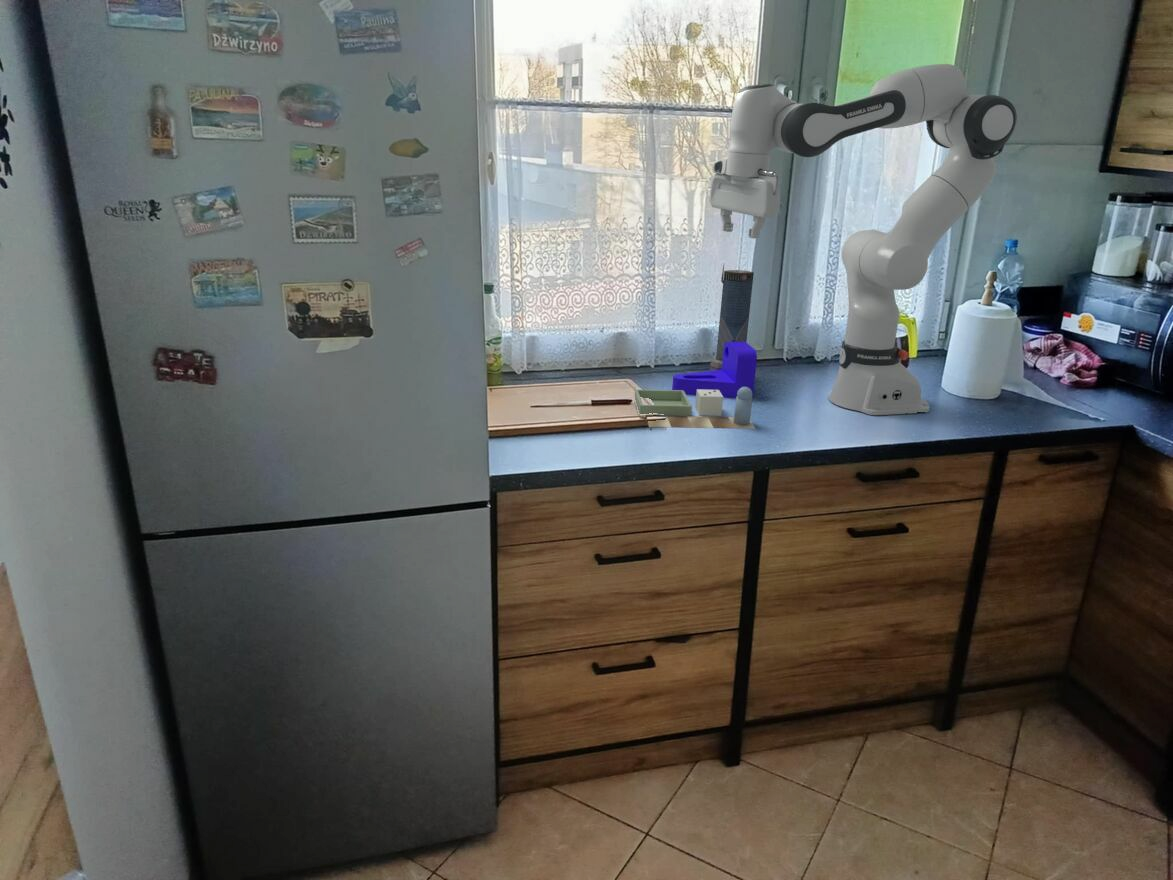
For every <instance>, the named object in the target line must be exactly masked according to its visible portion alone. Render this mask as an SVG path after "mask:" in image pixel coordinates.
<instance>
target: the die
mask: <svg viewBox="0 0 1173 880" xmlns="http://www.w3.org/2000/svg"><path fill="white" fill-rule="evenodd" d="M694 403H695V405H694V408H695V411H696V413H697V415H698V416H714V417H722V416H723V415H722V413H723V405H724V404H723V403H724V397H723V396H722V394H721V392H720V391H719V390H704V389H697V391H696V395H695V402H694Z"/></svg>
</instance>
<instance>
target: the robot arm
mask: <svg viewBox="0 0 1173 880" xmlns="http://www.w3.org/2000/svg"><path fill="white" fill-rule="evenodd" d="M731 112H732V113H731V119H730V126H729V127H730V129H729V131H730V143H729V146H728V149H727V156H725V157H723V158H721V159H718V160H716V161H714V162H713V163H712V164H711V165H712V166H711V172H712V173H714V174H713V175H712V177H711V182H710V188H709V189H710V191H709V203H710V206H711V207H712V208H715V209H718V210H719V209H720V213H719V214H720V217H721V220H722V227H721V228H722V231H723V232H727V233H732V232H733V231H734V223H733V222H732V219H731V215H733V212H734V213H738V214H743V215H748V216H753V219H752V221H753V222H754V223H753V225H752V227H751V228H748V229H749V230H748V238H750V239H759V238H760V234H761V229H762V228H763V226H764V224H765V223H766V219H776V218H777V216H778V215H779V213H780V210H781V209H780V207H781V206H780V205H781V204H780V203H781V186H780V178H779V176H778V175H777V174H776V172H775V171H774V170H770V164H771V154H772V150H773V149H776V150H778V151H781V152H784V153H787V154H788V153H789V154H795V155H797V156H799V157H803V158H812V157H813V158H814V157H817V156H819V155H821V154H823V153H825V152H826V151H827V150H829V149H830V148H831V147H832V146H833V145H835V144H836V143H837V142H839V141H841V140H843V139H846V138H848V137H851V136H854V135H858V134H861V133H864V132H868V131H871V130H875V129H886V130H887V129H896V128H905V127H908V126H909V127H910V126H913V125H917V124H921V123H924V122H925V123H926V130H927V134H928V137H929V138H930V139H931V141H932V142H933V143H935V144H936V145H938V146H940V147H942V148H944V149H949V151H948V154H947V156H946V158H945V160H944V161H943V162H942V164H941V165H940V166H939V167H938V168H937V169H936V170H935V171H934V172H932V174H931V175H929V177H928V178H926V180H925V181H924V182H922V184H921V185H920V186H919V187H918V188H917V189H916V190H914V192H913V193H912V194H911V195H910V196H909V197H908V198H907V199H906V200H905V201H904V202H903V204H902V208H901V209H902V212H901V214H900V217H898V219H897V221H896V223H895V224H894V225H893V227H892V228H891V230H889V231H888V232H883V231H880V230H877V229H866V230H859V231H857V232H854V233H853V234H851V235H850V236H849V237H847V239H846V240H845V241H844V243H843V244H842V245H843V246H842V248H841V260H842V262H843V265H844V267H845V272H846V281H847V283H846V284H847V293H848V294H847V297H848V310H847V311H848V313H847V320H846V325H845V326H846V327H845V335H844V340H843V341H841V342H842V343H841V347H840V351H839V360H838V361H839V364H838V365H839V367H838V372H837V375H836V378H835V381H834V385H833V388H832V390H831V392H830V394H829V396H828V399H829V401H830V402H831V403H833V404H835V405H836V406H838V407H841V408H845V409H848V410H852V411H858V412H861V413H864V414H867V415H870V416H884V415H885V416H886V415H888V416H889V415H904V414H905V415H906V413H907V414H918V413H917V412H925V413H928V412H929V411H930V405H929V403H928V401H927V400H925V399H924V398H923V397H922V388H921V383H920V381H919V380H918V378H917V377H916V376H915V375H914V374H913V373H912V372H911V371H910V370H908V368H907V367H905V366H904V364H902V363H901V362H900V360H902V361H907V360H908V359H909V357H910V353H909V351H906V349H901V348H899V347H898V346H896V338H897V332H898V326H899V321H900V310H899V309H900V308H899V307H898V304H897V301H896V297H895V290H896V291H897V290H898V291H900V290H910V289H913V288H914V287H916V286H917V285H919V284H920V283H921V282H922V281H923V280H924V278H925V277H926V274H927V273H928V272H927V271H928V267H929V265H928V264H929V258H930V255H931V254H932V252H933V250H934V249H935V247H936V245H937V244H938V242H939V241H940V240H941V239H942V237H944V235H945V234H946V233H947V232H948V231H949V230H950V229H951V228H952V227H953V226H954V225H955V223H956V222H958V221H959V220H960V218H962V217H963V216H964V215H965V214H966V212H967V211H968V210H969V209H971V207H972V206H973V205H974V204H975V203H976V202H977V201H978V200H979V199H980V198H981V196H982V195H983V194H984V193H985V191H986V190H987V189H988V187H989V186H990V184H991V183H992V182H993V180H994V179H995V177H996V174H997V166H996V163H995V160H994V158H995V157H996V156H998V155H1000V154H1001V153H1002V152H1003V149H1004V148H1005V145H1006V143H1007V142H1008V141H1009V140H1010V138H1011V136H1012V135H1013V132H1014V130H1015V127H1016V125H1017V121H1018V119H1017V118H1018V114H1017V109H1016V108H1015V105H1014V104H1013V103H1012V102H1010V100H1008V99H1007V98H1005V97H1002V96H999V95H996V94H987V95H986V94H969V93H968V92H967V90H966V79H965V77H964V74H963V72H962V71H961V69H960V68H959V67H958V66H956V65H953V64H951V63H937V64H936V63H935V64H929V65H922V66H915V67H912V68H907V69H904V70H901V71H897V72H894V73H891V74H889V75H886V76H885V77H883V78H881V79H879V80H877V81H876V82H875V83H874V84H873V87H872V88H871V91H870V92H869V95H868V96H864V97H863V98H859V99H855V100H852V101H849V102H845V103H841V104H837V105H828V104H824V103H818V102H807V103H798V102H797V101H795V100H793V99H792V98H790V97H788V96H786V95H785V94H783V93H782V92H780V91H779V90H778V89H777V87H776V85H774V84H772V83H763V84H762V83H761V84H754V85H748V86H744V87H742V88H741V89H739V91H737V93H736V95H735V99H734V102H733V106H732V111H731Z"/></svg>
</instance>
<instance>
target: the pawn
mask: <svg viewBox="0 0 1173 880" xmlns="http://www.w3.org/2000/svg"><path fill="white" fill-rule="evenodd" d="M752 406H753V398H752V391H751V389H750V388H748V387H742V388H740V389H739V390H738V392H737V397H736V398H735V406H734V414H733V417H734V423H735V424H737V425H749V424H750V421H751V415H752Z"/></svg>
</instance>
